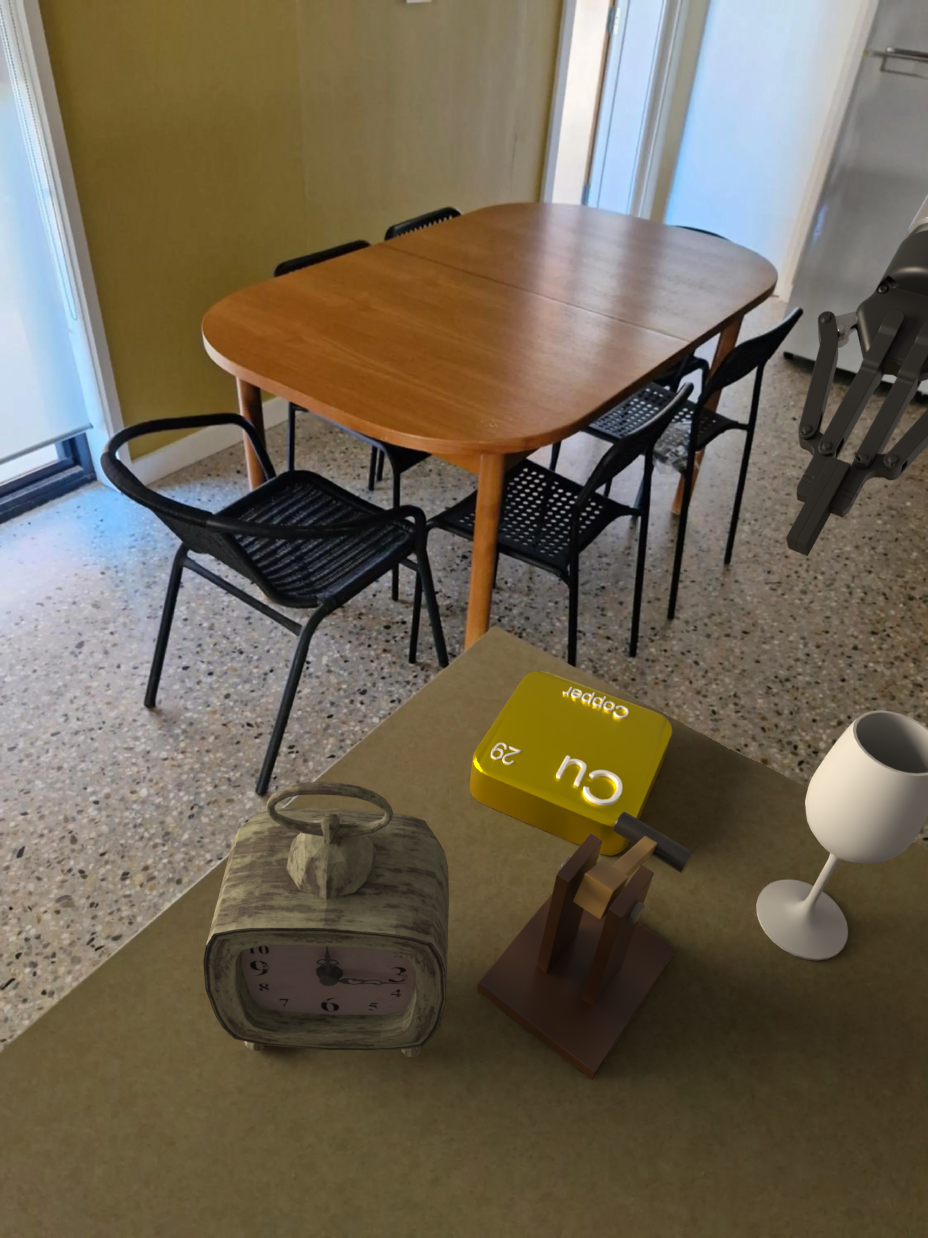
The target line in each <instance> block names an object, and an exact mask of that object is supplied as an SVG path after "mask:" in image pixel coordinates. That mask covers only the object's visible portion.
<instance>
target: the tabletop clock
mask: <svg viewBox="0 0 928 1238" xmlns="http://www.w3.org/2000/svg"><path fill="white" fill-rule="evenodd" d="M310 795H311V796H312V795H317V796H318V795H321V796H322V795H323V796H339V797H347V798H353V799H354V798H355V799H359V800H363V801H366V802H368V803H371V804H373V805H375V806H376V807H378V808H380V810H382V811H374V810H364V809H351V808H324V807H323V808H321V807H320V808H319V807H318V808H317V807H280V808H275V807H276V805H277V804H279V802H281V801H283V800H285V799H288V798H292V797H293V798H294V797H298V796H310ZM225 865H226V866H225V870H224V874H223V878H222V882H221V885H220V889H219V894H218V897H217V902H216V905H215V910H214V914H213V917H212V920H211V925H210V929H209V932H208V937H207V941H206V943H205V944H206V945H205V949H204V953H203V974H204V988H205V992H206V994H207V996H208V1000H209V1002H210V1005H211V1008H212V1011H213V1013H214V1016H215V1017H216V1020H217V1021H218V1022H219V1024H220V1025H221V1028H222V1029H223V1030H224V1031H225V1032H227V1033H228V1034H229V1035H230V1036H231V1038H233V1039H234V1040H238V1041H241V1042H243V1043H244V1045H245V1047H247V1049H248V1050H250V1051H253V1052H257V1051H261V1049H263V1048H265V1046H269V1047H270V1046H271V1047H281V1048H293V1049H308V1050H321V1051H401V1053H402V1054H403V1055H404V1056H406V1057H409V1058H413V1057H418V1055H419V1054H420V1053H421V1052H422V1051H423V1048H424V1047H425V1046H426V1044H428V1043H429V1042H430V1041H431V1040H432V1039H433V1038H434V1036H435V1035H436V1033H437V1031H438V1030H439V1027H440V1025H441V1022H442V1017H443V1015H444V1014H443V1013H444V1011H445V1006H446V1004H447V997H448V995H447V994H448V993H447V992H448V952H449V951H448V950H449V949H448V947H449V908H450V907H449V905H450V904H449V903H450V887H449V865H448V860H447V857H446V852H445V850H444V848H443V846H442V844H441V843H440V841H439V840H438V837H437V835H435V833H434V832H433V830H432V828H431V827H430V826H429V824H428V823H427V821H426V820H425V819H421V818H418V817H415V816H412V815H407V814H405V813H404V814H403V813H395V812H394V810H393V807H392V805H390V803H389V801H388V800H387V799H386V798H384V797H383V796H382V795H380V794H378V793H377V792H376V791H374V790H371V789H368V788H366V787H364V786H363V787H362V786H360V785H356V784H349V783H343V782H334V781H333V782H330V781H311V782H309V781H307V782H299V783H295V784H290V785H288V786H284V787H282V788H280V789H279V790H277V791H276V792H274V793H272V794H271V795H270V797H269V798H268V800H267V801H266V806H265V810H263V811H260V812H258V813H256V814H255V815H254V816H253V817H251V818H250V819H249V820H248V821H246V822H245V823H244V824H243V825H241V826H240V827H239V828H238V831H236V834H235V835H234V837H233V839H232V842H231V846H230V850H229V853H228V858H227V862H226V864H225Z"/></svg>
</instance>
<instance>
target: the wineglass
mask: <svg viewBox="0 0 928 1238" xmlns="http://www.w3.org/2000/svg"><path fill="white" fill-rule="evenodd" d="M805 795H806V796H805V799H804V800H805V801H804V805H805V814H806V821H807V824H808V827H809V828H810V830H811V832H812V834H813V835H814V837H815V838H816V840H817V842H819V844H820V845H821V846H822V847H823V848H824V849H825V850H826V851H827V852H828V853H829V856H828V859H827V860H826V862H825V865H824V866H823V868H822V870H821V872H820V873H819V875H818V877H817V879H816V881H815V883H814V885H812V884H810V883H808V882H805V881H802V880H798V879H779V880H776V881H773V882H769V884H767V885H766V886H765V887H763V888H762V890H761V891H760V893H759V895H758V897H757V901H756V906H755V907H756V909H755V910H756V917H757V920H758V923H759V925H760V926H761V929H762V931H764V934H766V936H767V937H768V938H769V939H770V940H771V941H772V942H773V943H774V944H775V945H776V946H777V947H779V948H780V949H781V950H783V951H785V952H786V953H788V954H790V955H792V956H794V957H797V958H800V959H802V960H803V959H804V960H807V961H825V960H829V959H831V958H834V957H835V956H837V955H838V954H839V953H840V952H841V951H842V950H843V949H844V947H845V945H846V943H847V941H848V935H849V928H848V923H847V922H848V921H847V920H846V917H845V915H844V913H843V910H841V908H840V907H839V905H838V904H837V903H836V902H835V900H833V898H831V896H829V894H827V893H825V891H824V889H825V887H826V886H827V884H828V883H829V880H830V879H831V877H832V875H833V873H834V871H835V869H836V868H837V866H838V864H839V863H840V862H841V861H842V860H843V861H845V862H849V863H851V864H861V865H875V864H883V863H885V862H888V861H889V860H892V859H894V858H896V857H898V856H900V855H902V854H903V853H904V852H905V851H906V850H907V849H908V848H909V847H910V846H911V845H912V844H913V843H914V842H915V840H916V838H917V837H918V836H919V834H920V833H921V830H922V828H923V826H924V824H925V823H926V820H927V818H928V727H927V726H925V725H924V724H923V723H921V722H920V721H919V720H917V719H914V718H912V717H910V716H907V715H905V714H903V713H899V712H895V711H891V710H880V709H879V710H870V711H866V712H865V713H862V714H860V715H859V716H858V717H856V718H855V720H853V721H852V723H851V724H849V726H848V727H847V728H846V729H845V731H844V732H843V733H842V734H841V735H840V736H839V738H837V740H836V741H835V743H834V744H833V746H832V747H831V748H830V750H829V751H828V752H827V754H826V755H825V757H824V758H823V759H822V761H821V763H820V764H819V766H818V767H817V769H816V770H815V772H814V773H813V775H812V777H811V779H810V782H809V784H808V787H807V792H806V794H805Z"/></svg>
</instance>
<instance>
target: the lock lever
mask: <svg viewBox="0 0 928 1238" xmlns="http://www.w3.org/2000/svg"><path fill="white" fill-rule="evenodd" d="M613 831H614V832H615V833H617V834H619V835H620V836H622V837H623V838H625V839H627V840H628V841H630V843H631V844H633V846H631V848H630V849H629V850H627V852H626V853H624V854H623V855H622V856H620V858H619V859H617V860H616V861H615V862H614V863H613V864H611V863H609V862H607V861H605V860H604V859H600V860H599V861H597V863H596V865H594V866H593V867H592V868H591V869H590V870H589V871H587V872H586V873H585V875H584V877H583V880H582V882H581V884H580V886H579V889H578V891H577V893H576V895H575V898H574V900H573V902H574V903H576V904H577V905H579V906H580V907H582V908H583V909H585V910H586V911H588V912H589V913H591V914H592V915H594V916H595V917H597V918H598V919H600V920H601V919H602V918H603V917H604V916H605V915H606V914H607V912H608V909H609V907H610V906H611V905H612V903H613V902H614V901H615V899H616V898H617V897H618V895H619V894H620V893H621V891H622V890H623V889H624V887H625V886H626V885H627V883H628V881H629V878H630V876H632V874H633V873H635V872H636V871H637V870H638V868H639V867H640V866H641V865H643V864H644V863H645V862H646V861H647V860H648V859H649V858H650V857H651V856H653V857H654V858H656V859H657V860H659V861H661V862H662V863H664V864H666V865H667V866H669V867H671V868H672V869H673V870H676V871H677V872H679V873H680V874H682V873H683V872H685V870H686V868H687V867H688V865H689V863H690V862H691V859H692V857H693V854H694V853H693V851H692V850H690V849H688V848H686V847H685V846H684V845H681V844H680V843H679V842H677V841H675V840H673V839H672V838H670V837H668V836H666V835H665V834H663V833H661V832H660V831H658V830H656V829H655V828H653V827H652V826H650V825H648V824H647V823H645V822H643V821H641V820H640V819H639V820H638V819H637V818H635V817H633V816H632V815H630V814H628V813H627V812H623V813H622V814H621V815H620V816H619V817H618V819H617V821H616V823H615V825H614V828H613Z"/></svg>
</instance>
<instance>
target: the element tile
mask: <svg viewBox="0 0 928 1238" xmlns="http://www.w3.org/2000/svg"><path fill="white" fill-rule="evenodd" d="M485 733H486V734H485V735H484V736H483V738H482V739H481V741H480V743H479V744H478V746H477V747H476V748H475V750H474V751H473V755H472V762H471V769H470V770H471V771H470V778H469V779H470V780H469V790H470V793H471V796H472V797H473V798H474V799H475V800H477V801H478V802H479V803H480V804H482V805H484V806H486V807H489V808H491V809H494V810H496V811H499V812H500V813H503V814H505V815H508V816H510V817H512V818H515V819H517V820H519V821H521V822H524V823H526V824H529V825H531V826H533V827H536V828H538V829H541V830H542V831H545V832H547V833H550V834H552V835H554V836H556V837H558V838H561V839H563V840H566V841H568V842H571V843H573V844H575V845H577V846H580V845H581V844H582V843H583V842H584V841H585V839H586V838H587V837H588V836H589V835H590V834H593V835H594V836H596V837H598V838H599V839H601V840H602V845H601V848H600V852H599V855H603V856H615V855H619V854H621V853H622V852H623V851H624V850H626V849H627V847H628V846H629V845H630V843H631V842H630V841H628V840H627V839H625V838H623V837H622V836H620V835H619V834H617V833H615V832H614V831H613V828H614V825H615V823H616V821H617V819H618V817H619V816H620V815H621V814H622V813H623V812H627V813H628V814H630V815H632V816H633V817H635V818H637V819H638V820H640V819H641V816H642V814H643V812H644V809H645V807H646V804H647V802H648V799H649V797H650V794H651V792H652V791H653V787H654V786H655V783H656V780H657V778H658V775H659V773H660V771H661V768H662V766H663V764H664V761H665V758H666V755H667V751H668V749H669V746H670V743H671V738H672V735H673V727H672V723H671V722H670V721H669V719H668V718H666V717H665V716H664V715H662V714H661V713H659V712H657V711H654V710H652V709H650V708H646V707H644V706H641V705H638V704H636V703H633V702H630V701H627V700H626V699H622V698H620V697H617V696H614V695H611V694H609V693H606V692H604V691H601V690H597V689H595V688H592V687H590V686H587V685H584V684H582V683H579V682H576V681H573V680H571V679H568V678H565V677H563V676H560V675H558V674H555V673H553V672H549V671H543V670H535V671H531V672H529V673H527V674H525V675H524V676H523V677H522V679H521V680H520V681H519V683H518V684H517V686H516V687H515V689H514V691H513V692H512V694H511V695H510V697H509V698H508V700H507V701H506V702H505V704H504V706H503V708H502V709H501V711H499V713H498V715H497V716H496V718H495V719H494V720H493V722H492V724H491V726H490V727H489V729H488V730H487V732H485Z"/></svg>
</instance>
